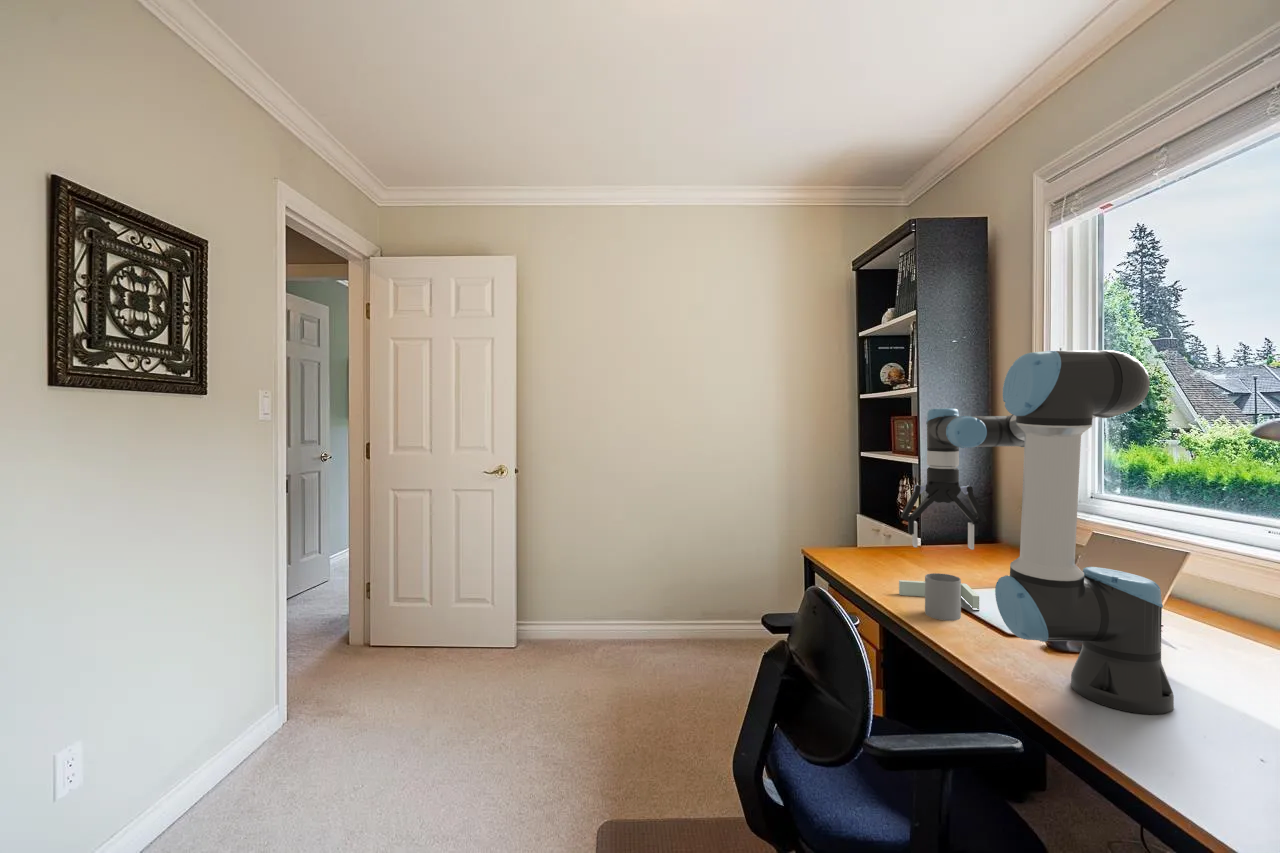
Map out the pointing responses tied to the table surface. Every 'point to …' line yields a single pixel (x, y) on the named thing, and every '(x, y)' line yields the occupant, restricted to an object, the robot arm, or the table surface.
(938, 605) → the cup
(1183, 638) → the table surface
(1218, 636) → the table surface
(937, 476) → the robot arm
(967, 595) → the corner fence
